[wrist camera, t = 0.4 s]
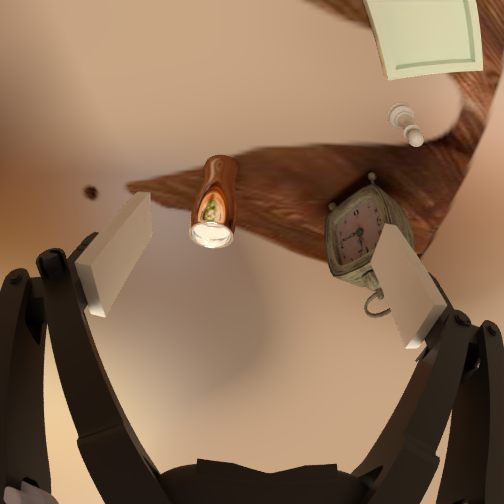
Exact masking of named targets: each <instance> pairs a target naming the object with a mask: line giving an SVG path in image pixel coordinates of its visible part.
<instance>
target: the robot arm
mask: <svg viewBox="0 0 504 504" xmlns="http://www.w3.org/2000/svg"><path fill="white" fill-rule="evenodd" d="M152 236H153V234H152V220H151V201H150V192H137V193H136V194H135V195H134V196H133V197H132V198H131V199H130V200H129V201H128V202H127V203H126V204H125V205H124V206H123V207H122V208H121V209H120V210H119V211H118V213H117V214H116V215H115V216H114V217H113V218H112V219H111V220H110V221H109V222H108V223H107V225H106V226H105V227H104V228H103V229H102V230H101V231H100V233H98V232H94V233H92V234H90V235H89V236H87V237H86V238H85V239H84V240H83V241H82V242H81V245H79V246H78V247H77V249H76V250H74V252H73V253H72V254H71V255H70V256H69V258H68V259H66V255H65V252H64V251H63V250H62V249H60V248H52V249H48V250H46V251H44V252H43V253H41V254H40V255H39V256H38V258H37V260H36V265H37V268H38V270H39V273H40V275H41V277H35V278H34V277H33V278H30V276H29V273H28V271H27V270H26V269H23V268H19V269H15V270H13V271H11V272H10V273H9V274H8V275H7V276H6V277H5V279H4V282H3V285H2V288H1V291H0V504H58V502H57V501H56V499H55V498H54V497H53V496H52V495H51V477H50V469H49V461H48V454H47V446H46V435H45V422H44V399H43V398H44V397H43V376H44V353H45V352H44V351H45V339H46V329H47V324H48V329H49V334H50V339H51V344H52V349H53V354H54V358H55V362H56V366H57V370H58V374H59V378H60V381H61V385H62V388H63V392H64V395H65V398H66V401H67V404H68V408H69V411H70V413H71V416H72V419H73V422H74V424H75V427H76V430H77V433H78V437H79V438H78V440H77V445H78V448H79V451H80V454H81V456H82V458H83V461H84V463H85V465H86V467H87V469H88V472H89V473H90V476H91V478H92V480H93V482H94V484H95V486H96V488H97V490H98V491H99V493H100V495H101V497H102V499H103V501H104V502H105V504H420V502H421V500H422V499H423V496H424V495H425V493H426V491H427V489H428V487H429V485H430V483H431V481H432V479H433V477H434V474H435V472H436V470H437V468H438V465H439V462H440V459H439V457H438V456H436V454H435V453H436V450H437V448H438V445H439V443H440V440H441V438H442V435H443V432H444V430H445V427H446V425H447V421H448V419H449V416H450V413H451V410H452V416H451V426H450V434H449V441H448V447H447V453H446V459H445V464H444V469H443V474H442V478H441V483H440V487H439V491H438V496H437V500H436V504H504V346H503V340H502V336H501V332H500V330H499V328H498V326H497V325H495V323H493V322H491V321H489V320H485V321H484V322H483V323H482V325H481V326H480V327H477V326H474V325H471V321H470V319H469V318H468V316H467V315H466V314H464V313H463V312H461V311H459V310H454V308H453V307H452V305H451V303H450V301H449V300H448V298H447V296H446V295H445V293H444V291H443V290H442V288H441V287H440V285H439V283H438V281H437V280H436V279H435V278H434V277H433V276H432V275H431V274H430V273H429V272H427V270H426V269H425V267H424V266H423V264H422V263H421V261H420V259H419V258H418V256H417V255H416V253H415V252H414V250H413V249H412V247H411V246H410V245H409V243H408V242H407V240H406V239H405V237H404V236H403V234H402V233H401V232H400V230H399V229H398V227H397V226H396V225H391V224H386V223H385V225H384V228H383V230H382V233H381V236H380V239H379V241H378V244H377V246H376V249H375V252H374V254H373V257H372V259H371V262H370V263H371V266H372V268H373V270H374V272H375V274H376V277H377V279H378V281H379V284H380V286H381V288H382V291H383V293H384V295H385V298H386V300H387V303H388V305H389V307H390V310H391V312H392V315H393V318H394V320H395V323H396V325H397V328H398V331H399V333H400V336H401V339H402V341H403V344H404V347H405V349H407V348H408V349H409V348H418V347H419V346H420V344H421V343H422V342H423V341H424V340H425V342H426V344H427V346H426V348H425V349H424V350H423V352H422V353H421V354H420V355H419V357H418V358H417V359H416V362H417V361H418V360H419V362H418V364H417V366H416V368H415V370H414V372H413V375H412V377H411V379H410V381H409V383H408V385H407V387H406V389H405V391H404V393H403V395H402V397H401V399H400V401H399V403H398V405H397V407H396V408H395V410H394V412H393V414H392V416H391V418H390V419H389V421H388V423H387V424H386V426H385V428H384V430H383V431H382V433H381V435H380V436H379V438H378V439H377V441H376V443H375V444H374V446H373V447H372V449H371V450H370V452H369V453H368V455H367V457H366V458H365V459H364V461H363V462H362V463H361V464H360V465H359V466H358V467H357V468H356V469H355V470H354V471H353V472H352V473H351V474H348V473H346V472H342V471H338V470H337V464H326V465H306V466H301V467H297V468H293V469H289V470H285V471H280V472H275V473H264V472H261V471H257V470H254V469H250V468H247V467H243V466H240V465H237V464H234V463H227V462H219V461H210V460H204V459H197V464H192V465H185V466H180V467H177V468H173V469H171V470H168V471H166V472H164V473H162V474H160V473H159V471H158V470H157V468H156V466H155V465H154V463H153V462H152V460H151V459H150V457H149V456H148V454H147V453H146V451H145V450H144V448H143V446H142V445H141V443H140V441H139V440H138V437H137V436H136V434H135V432H134V430H133V428H132V427H131V425H130V423H129V421H128V419H127V417H126V415H125V413H124V411H123V409H122V407H121V405H120V403H119V400H118V398H117V396H116V394H115V392H114V390H113V387H112V385H111V383H110V381H109V378H108V376H107V373H106V371H105V369H104V366H103V364H102V361H101V359H100V356H99V353H98V351H97V348H96V345H95V343H94V340H93V337H92V334H91V331H90V328H89V325H88V322H87V319H86V316H85V313H84V309H85V308H86V306H87V304H88V307H89V310H90V313H91V314H93V315H98V316H102V317H106V316H107V314H108V312H109V310H110V308H111V307H112V305H113V303H114V301H115V299H116V297H117V295H118V294H119V292H120V290H121V288H122V286H123V285H124V283H125V281H126V279H127V278H128V276H129V274H130V272H131V271H132V269H133V267H134V266H135V264H136V262H137V260H138V259H139V257H140V256H141V254H142V252H143V250H144V249H145V247H146V246H147V244H148V242H149V241H150V239H151V238H152ZM478 365H479V367H478Z"/></svg>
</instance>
